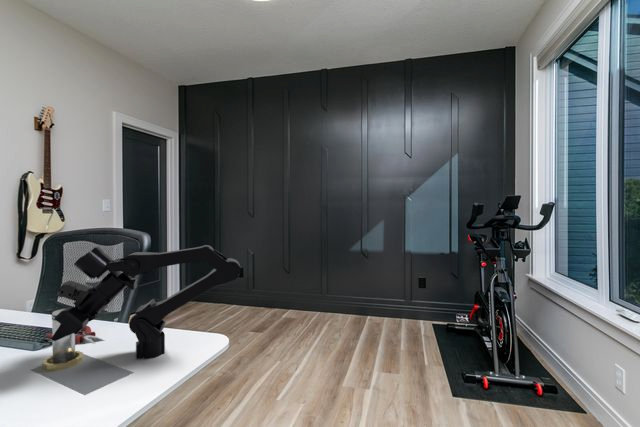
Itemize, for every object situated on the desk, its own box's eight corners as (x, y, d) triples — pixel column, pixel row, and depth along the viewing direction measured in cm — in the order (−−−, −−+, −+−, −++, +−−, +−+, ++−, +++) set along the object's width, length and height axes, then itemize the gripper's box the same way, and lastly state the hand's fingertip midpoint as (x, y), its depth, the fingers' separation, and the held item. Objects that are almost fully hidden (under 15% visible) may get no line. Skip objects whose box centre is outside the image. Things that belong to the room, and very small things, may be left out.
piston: (79, 356, 87) (79, 307, 87) (68, 364, 82) (68, 313, 82) (59, 357, 86) (59, 308, 86) (47, 366, 81) (47, 314, 81)
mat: (30, 373, 81) (30, 369, 81) (79, 356, 91) (79, 352, 91) (85, 399, 70) (85, 394, 70) (134, 376, 80) (134, 372, 80)
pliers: (80, 355, 92) (80, 345, 92) (42, 342, 101) (42, 334, 101) (120, 340, 103) (120, 332, 103) (82, 330, 111) (82, 322, 111)
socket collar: (83, 357, 90) (83, 348, 90) (81, 369, 83) (81, 359, 83) (45, 364, 85) (45, 355, 85) (40, 378, 79) (40, 367, 79)
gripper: (94, 264, 94) (49, 305, 91) (64, 277, 76) (7, 329, 73) (125, 289, 96) (82, 330, 93) (103, 308, 78) (49, 359, 75)
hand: (57, 336), depth 84 cm, fingers closed on piston, 4 cm apart
